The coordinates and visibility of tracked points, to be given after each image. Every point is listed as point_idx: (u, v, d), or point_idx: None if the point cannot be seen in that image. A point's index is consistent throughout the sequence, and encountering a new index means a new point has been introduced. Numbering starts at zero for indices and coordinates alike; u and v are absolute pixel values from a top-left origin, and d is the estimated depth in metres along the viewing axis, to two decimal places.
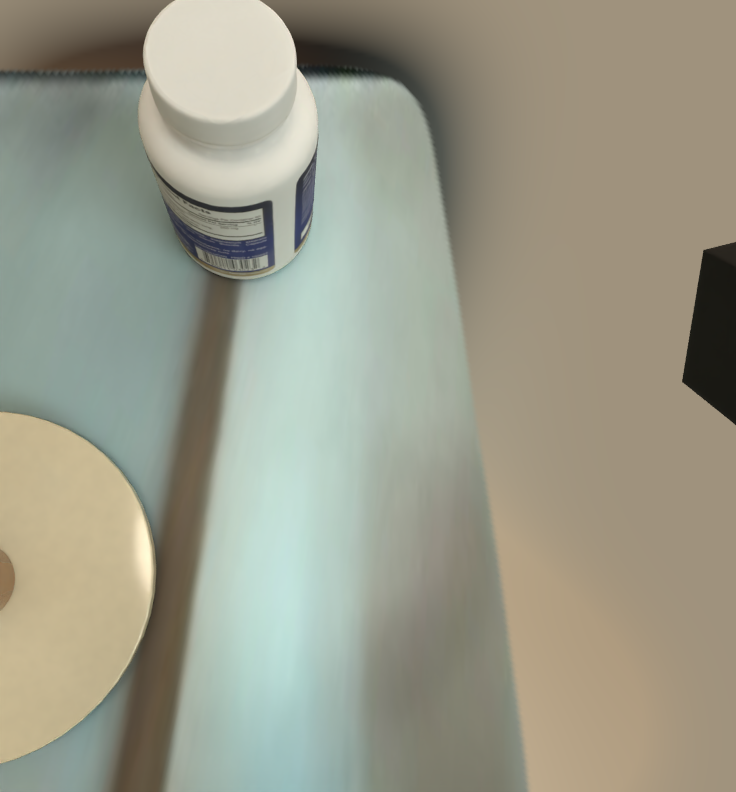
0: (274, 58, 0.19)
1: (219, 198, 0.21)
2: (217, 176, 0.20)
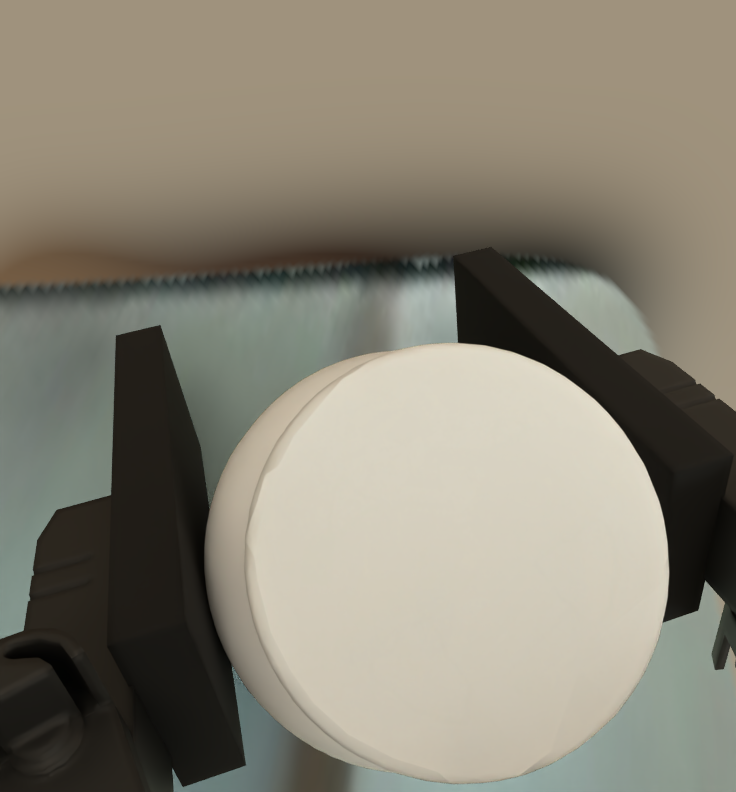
0: (614, 555, 0.07)
1: None
2: None
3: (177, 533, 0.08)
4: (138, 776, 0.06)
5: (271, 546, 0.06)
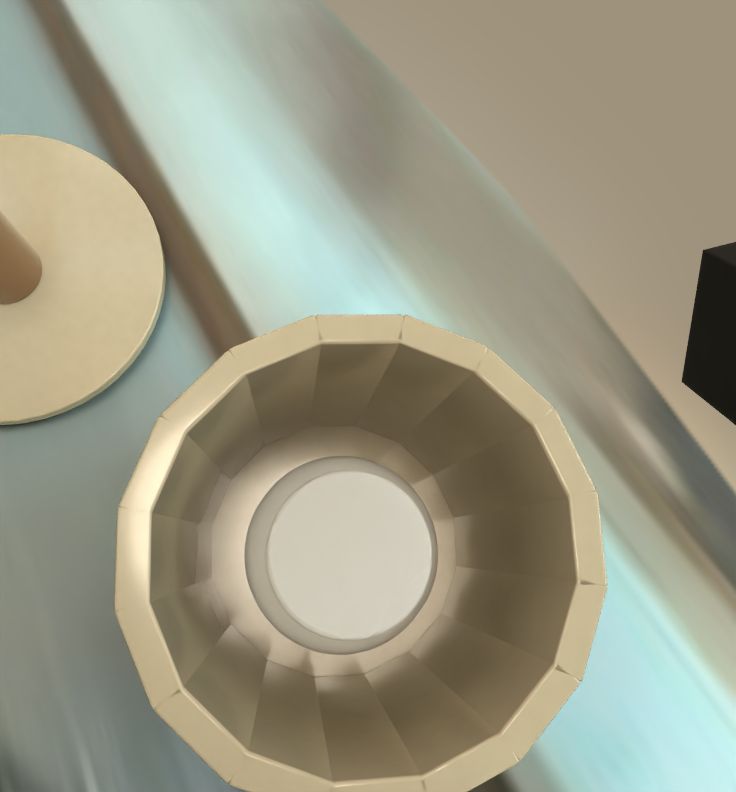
0: (409, 555, 0.17)
1: (335, 654, 0.19)
2: (336, 642, 0.18)
3: None
4: None
5: (275, 552, 0.16)
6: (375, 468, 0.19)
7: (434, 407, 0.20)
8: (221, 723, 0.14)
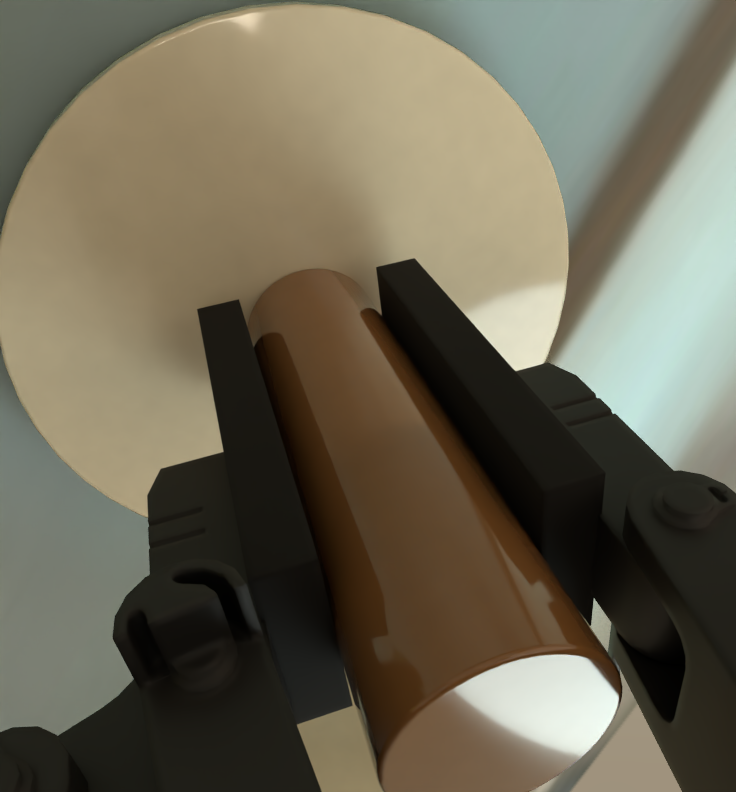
0: None
1: None
2: None
3: (294, 482, 0.08)
4: (289, 705, 0.06)
5: None
6: None
7: None
8: None
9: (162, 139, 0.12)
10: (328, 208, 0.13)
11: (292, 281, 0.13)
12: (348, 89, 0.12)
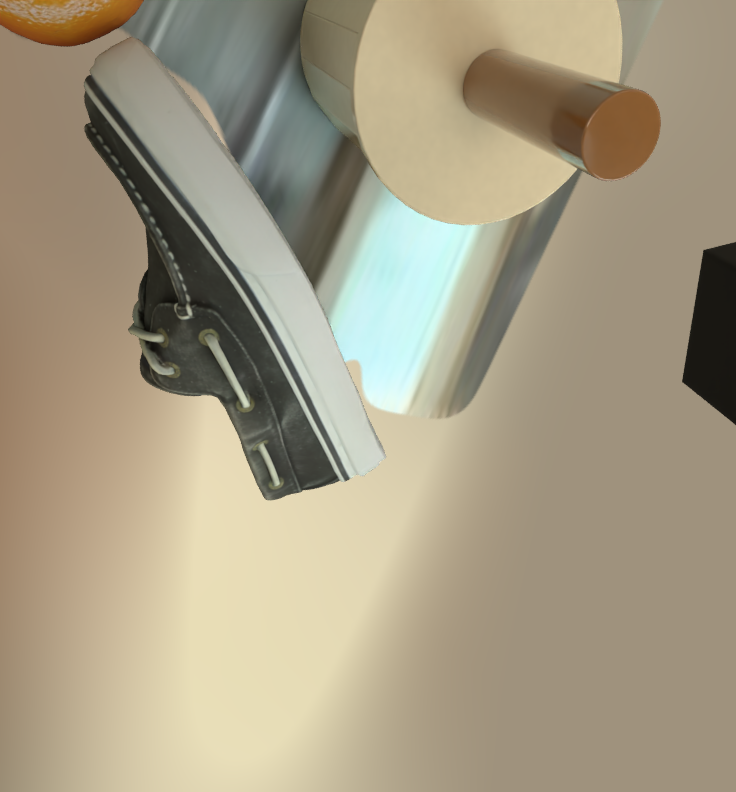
0: None
1: None
2: None
3: None
4: None
5: None
6: None
7: None
8: None
9: None
10: (509, 15, 0.27)
11: (490, 52, 0.27)
12: None
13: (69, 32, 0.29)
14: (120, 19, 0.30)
